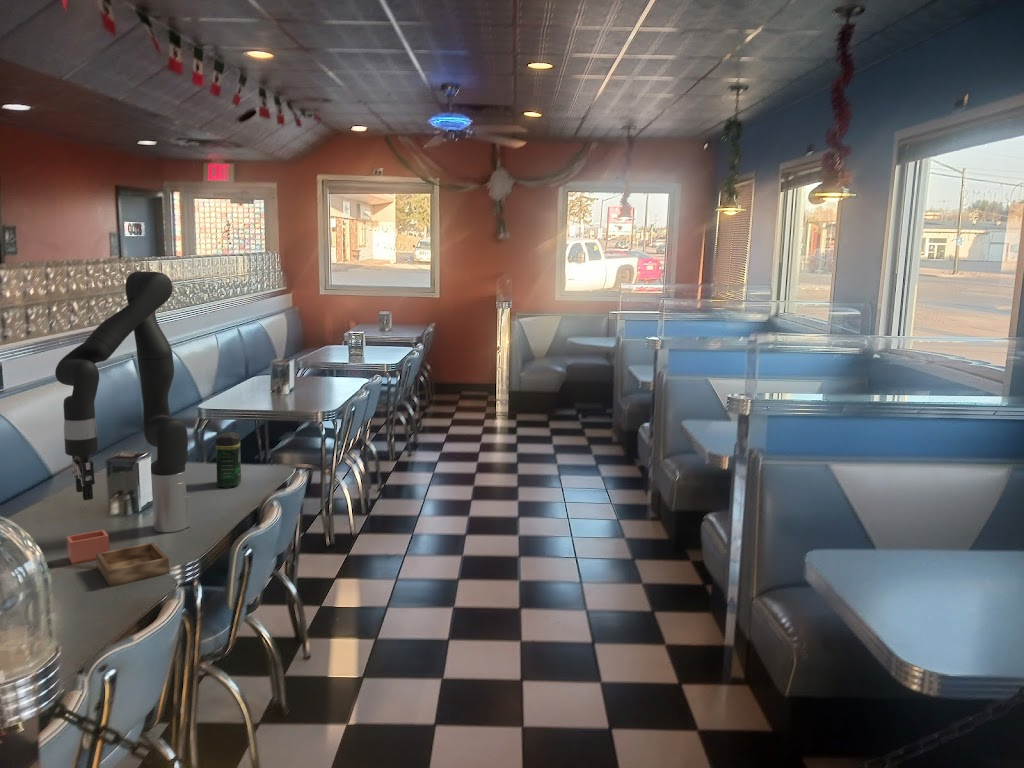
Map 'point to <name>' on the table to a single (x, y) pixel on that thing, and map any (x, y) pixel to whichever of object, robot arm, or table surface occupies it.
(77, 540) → the red open box
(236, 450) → the coffee jar
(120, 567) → the wooden crate
